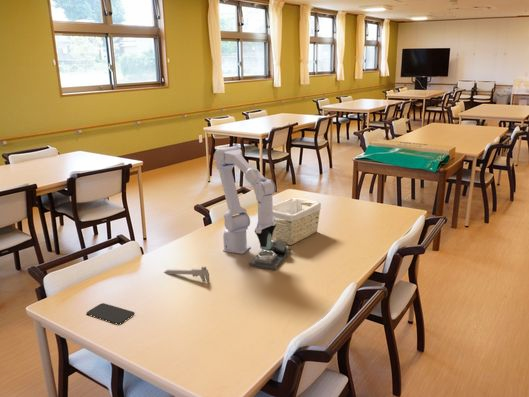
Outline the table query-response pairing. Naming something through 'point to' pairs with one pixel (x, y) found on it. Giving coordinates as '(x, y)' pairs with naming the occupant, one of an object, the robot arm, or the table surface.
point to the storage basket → (295, 219)
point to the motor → (271, 256)
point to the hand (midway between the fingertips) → (265, 244)
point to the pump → (268, 242)
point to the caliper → (192, 273)
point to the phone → (110, 313)
